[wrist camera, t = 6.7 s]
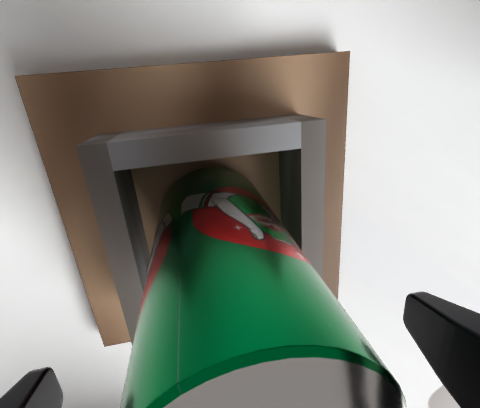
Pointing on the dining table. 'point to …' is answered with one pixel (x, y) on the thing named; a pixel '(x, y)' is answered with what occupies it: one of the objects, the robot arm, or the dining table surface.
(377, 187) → the dining table surface
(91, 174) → the keeper board
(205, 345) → the soda can
